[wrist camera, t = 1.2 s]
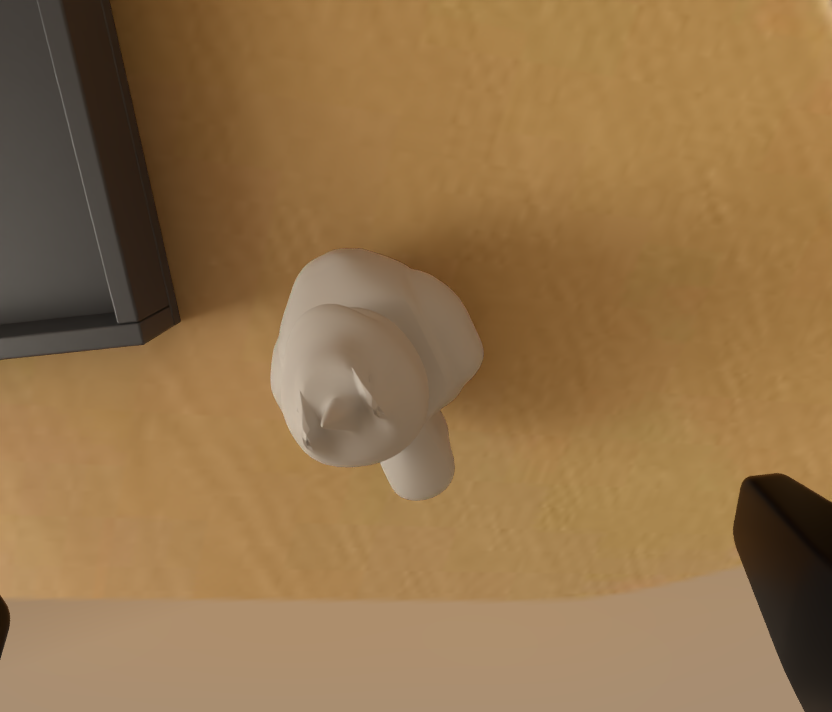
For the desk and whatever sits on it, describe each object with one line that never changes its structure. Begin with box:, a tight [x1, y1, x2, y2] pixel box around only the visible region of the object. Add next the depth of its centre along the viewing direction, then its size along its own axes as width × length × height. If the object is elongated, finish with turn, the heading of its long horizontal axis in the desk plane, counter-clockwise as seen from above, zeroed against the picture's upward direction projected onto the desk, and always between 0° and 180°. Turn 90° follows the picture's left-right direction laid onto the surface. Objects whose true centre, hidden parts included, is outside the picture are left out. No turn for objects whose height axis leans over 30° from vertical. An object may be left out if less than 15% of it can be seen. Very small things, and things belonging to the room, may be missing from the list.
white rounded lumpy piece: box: [271, 248, 484, 501], centre depth 16 cm, size 5×7×8 cm
